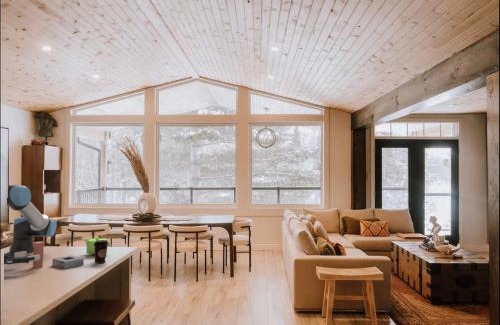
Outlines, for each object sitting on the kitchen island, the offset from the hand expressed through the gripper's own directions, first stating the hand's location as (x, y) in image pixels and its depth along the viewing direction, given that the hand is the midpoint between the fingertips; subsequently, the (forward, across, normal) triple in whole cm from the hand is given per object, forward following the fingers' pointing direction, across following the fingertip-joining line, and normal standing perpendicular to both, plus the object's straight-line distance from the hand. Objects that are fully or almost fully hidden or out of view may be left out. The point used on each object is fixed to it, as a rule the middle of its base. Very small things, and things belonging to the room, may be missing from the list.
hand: (32, 255), depth 224 cm
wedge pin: (+3, 0, -7) cm, 8 cm away
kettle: (+45, -6, -8) cm, 46 cm away
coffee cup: (+34, +15, -8) cm, 38 cm away
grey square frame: (+16, +8, -7) cm, 20 cm away
